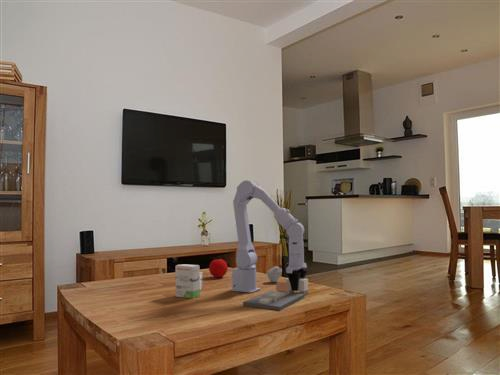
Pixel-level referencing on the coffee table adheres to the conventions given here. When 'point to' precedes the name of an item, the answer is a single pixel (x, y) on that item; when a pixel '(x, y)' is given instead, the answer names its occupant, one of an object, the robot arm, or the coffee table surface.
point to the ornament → (218, 267)
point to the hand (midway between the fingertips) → (297, 289)
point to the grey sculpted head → (274, 274)
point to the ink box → (187, 281)
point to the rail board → (274, 300)
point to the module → (300, 286)
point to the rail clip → (282, 286)
